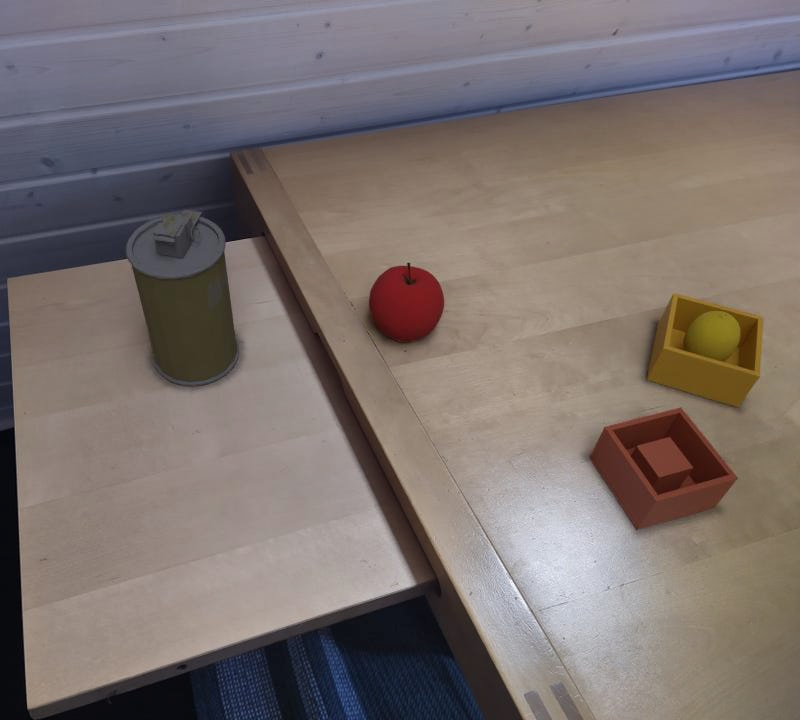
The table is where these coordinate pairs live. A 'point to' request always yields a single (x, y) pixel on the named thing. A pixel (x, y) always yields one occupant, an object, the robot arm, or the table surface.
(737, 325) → the lemon
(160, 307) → the canister
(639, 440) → the clay bin
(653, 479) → the clay block
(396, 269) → the apple
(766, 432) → the table surface
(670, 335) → the yellow bin
